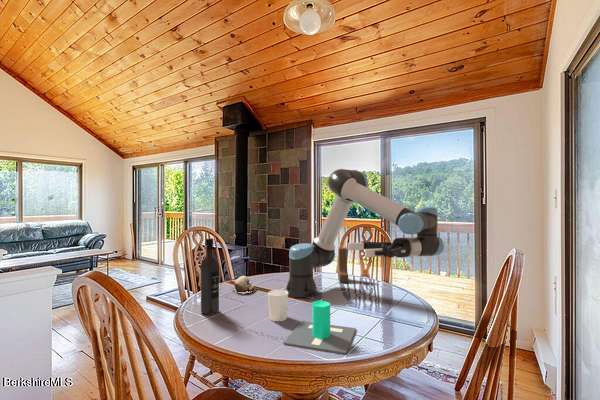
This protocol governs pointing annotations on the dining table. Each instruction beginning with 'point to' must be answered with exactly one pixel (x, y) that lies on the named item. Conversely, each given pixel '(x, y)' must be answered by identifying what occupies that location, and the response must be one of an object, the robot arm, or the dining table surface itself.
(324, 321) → the candle
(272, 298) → the white cup
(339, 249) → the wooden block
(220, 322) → the dining table surface
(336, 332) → the letter pad
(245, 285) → the skull
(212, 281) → the black olive oil bottle
